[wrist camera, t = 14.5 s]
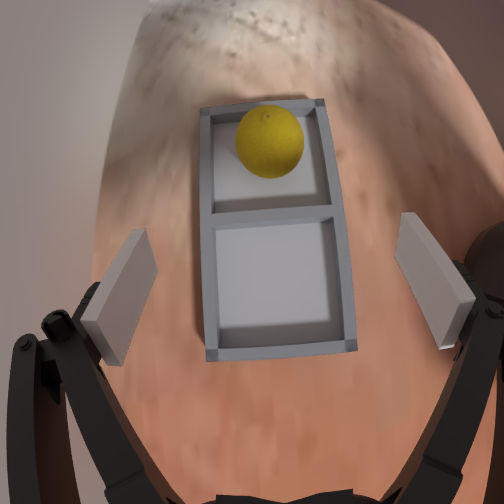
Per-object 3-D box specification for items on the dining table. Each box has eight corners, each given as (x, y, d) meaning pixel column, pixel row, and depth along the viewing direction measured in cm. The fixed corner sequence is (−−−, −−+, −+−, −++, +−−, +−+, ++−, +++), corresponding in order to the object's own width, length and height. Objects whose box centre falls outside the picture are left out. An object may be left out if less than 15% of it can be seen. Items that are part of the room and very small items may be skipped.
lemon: (237, 143, 30) (224, 93, 22) (294, 134, 30) (298, 82, 22) (245, 196, 29) (234, 155, 21) (306, 186, 28) (316, 143, 21)
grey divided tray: (205, 122, 31) (199, 108, 29) (321, 112, 31) (323, 98, 28) (212, 357, 27) (206, 361, 25) (350, 347, 26) (357, 350, 24)
